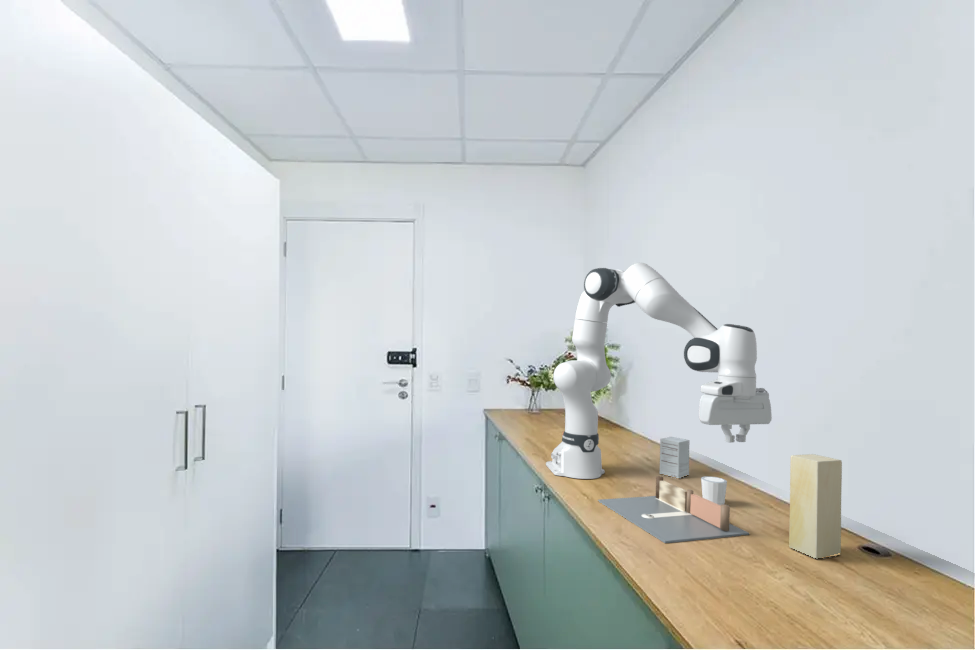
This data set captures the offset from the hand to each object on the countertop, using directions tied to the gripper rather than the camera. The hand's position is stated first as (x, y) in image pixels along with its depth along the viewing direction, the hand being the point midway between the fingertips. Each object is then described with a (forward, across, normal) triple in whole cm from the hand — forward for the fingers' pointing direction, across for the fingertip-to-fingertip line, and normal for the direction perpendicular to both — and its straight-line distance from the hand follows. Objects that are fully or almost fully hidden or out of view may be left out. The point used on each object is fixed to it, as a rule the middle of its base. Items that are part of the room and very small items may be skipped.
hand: (735, 441), depth 128 cm
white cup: (+21, -8, -16) cm, 28 cm away
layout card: (+21, +13, -9) cm, 26 cm away
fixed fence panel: (+21, +6, -17) cm, 27 cm away
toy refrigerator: (+21, -6, +17) cm, 28 cm away
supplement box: (+21, -17, -45) cm, 53 cm away
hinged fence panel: (+20, +6, -3) cm, 21 cm away
